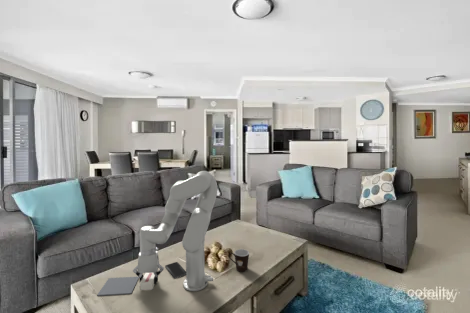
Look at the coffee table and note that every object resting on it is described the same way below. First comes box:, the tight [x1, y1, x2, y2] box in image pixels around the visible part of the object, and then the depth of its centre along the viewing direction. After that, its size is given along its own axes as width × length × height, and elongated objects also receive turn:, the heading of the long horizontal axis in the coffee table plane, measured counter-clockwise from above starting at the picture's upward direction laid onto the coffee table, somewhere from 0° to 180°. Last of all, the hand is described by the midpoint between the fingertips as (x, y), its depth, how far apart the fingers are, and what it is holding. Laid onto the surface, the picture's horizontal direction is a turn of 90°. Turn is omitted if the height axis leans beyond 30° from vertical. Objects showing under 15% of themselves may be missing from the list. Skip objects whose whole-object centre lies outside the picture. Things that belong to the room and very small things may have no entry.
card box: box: [139, 273, 155, 291], centre depth 129 cm, size 6×9×4 cm, turn 2°
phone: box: [164, 261, 186, 279], centre depth 143 cm, size 8×1×15 cm
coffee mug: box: [228, 248, 250, 273], centre depth 145 cm, size 12×9×10 cm
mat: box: [97, 276, 140, 297], centre depth 128 cm, size 16×14×1 cm
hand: (148, 283), depth 130 cm, fingers closed on card box, 6 cm apart
